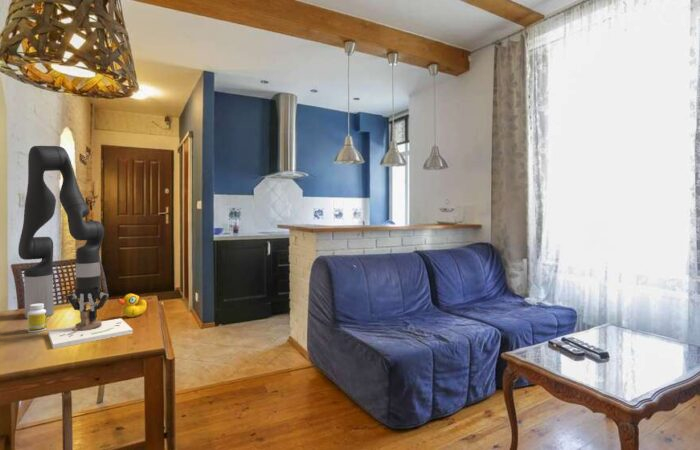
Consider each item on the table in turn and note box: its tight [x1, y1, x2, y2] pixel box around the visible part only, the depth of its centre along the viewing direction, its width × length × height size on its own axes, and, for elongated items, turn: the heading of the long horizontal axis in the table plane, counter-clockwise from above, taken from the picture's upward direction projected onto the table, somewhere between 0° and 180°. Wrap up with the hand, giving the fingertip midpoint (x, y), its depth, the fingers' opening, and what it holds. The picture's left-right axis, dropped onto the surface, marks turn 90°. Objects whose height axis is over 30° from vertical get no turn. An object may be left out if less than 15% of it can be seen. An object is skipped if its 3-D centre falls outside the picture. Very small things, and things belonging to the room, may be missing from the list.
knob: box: [72, 308, 102, 331], centre depth 136 cm, size 12×8×6 cm, turn 1°
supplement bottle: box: [27, 303, 47, 333], centre depth 138 cm, size 5×5×10 cm
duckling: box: [117, 293, 147, 318], centre depth 157 cm, size 11×5×10 cm, turn 148°
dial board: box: [47, 317, 134, 350], centre depth 135 cm, size 18×23×2 cm
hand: (88, 320), depth 138 cm, fingers closed on knob, 2 cm apart
